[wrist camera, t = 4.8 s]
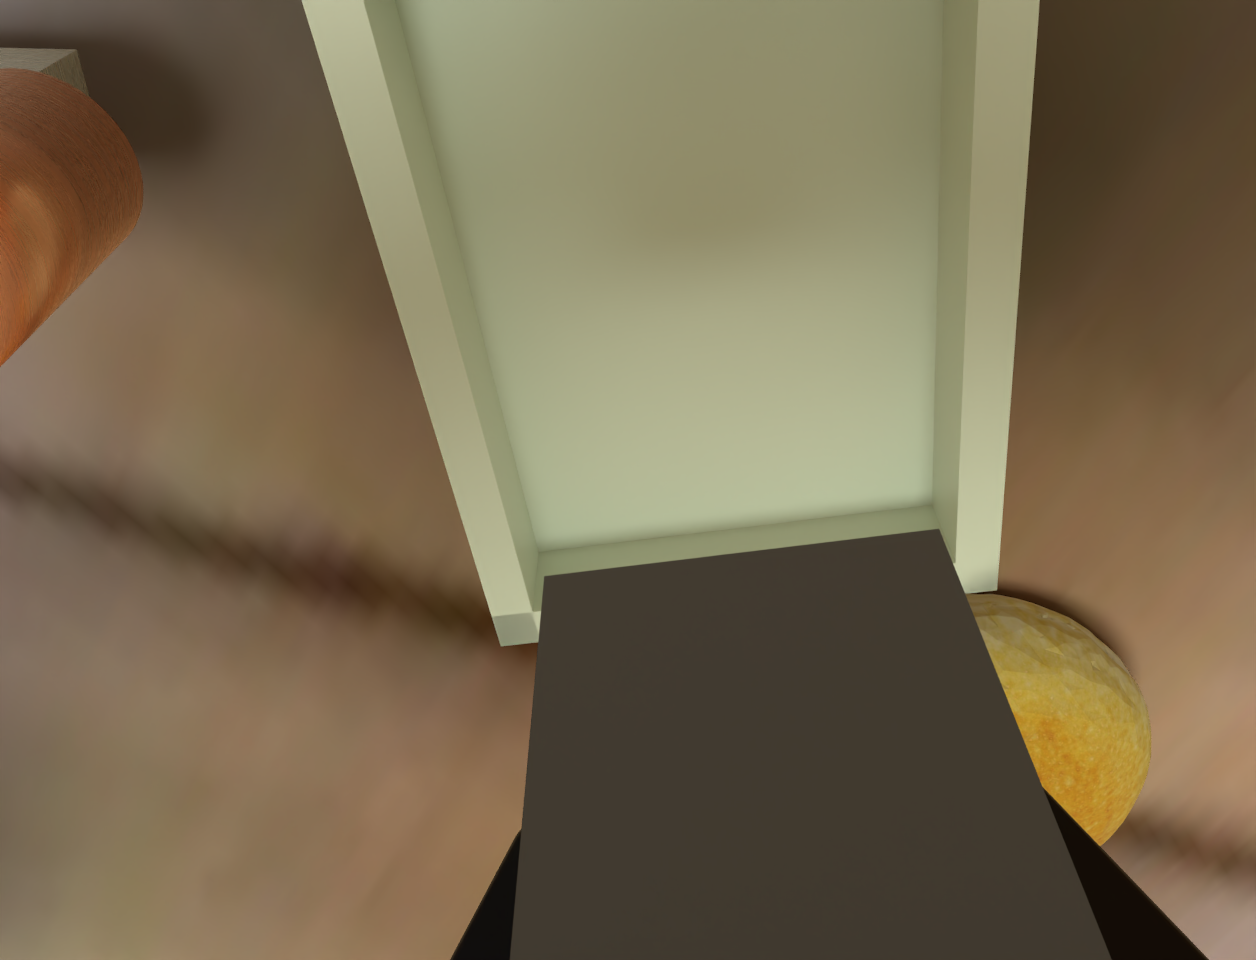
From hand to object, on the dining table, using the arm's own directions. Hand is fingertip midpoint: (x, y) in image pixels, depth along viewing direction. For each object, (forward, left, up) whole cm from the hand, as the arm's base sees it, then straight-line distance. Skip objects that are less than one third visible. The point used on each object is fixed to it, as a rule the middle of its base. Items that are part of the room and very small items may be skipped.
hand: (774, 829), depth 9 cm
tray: (0, 0, -12) cm, 12 cm away
